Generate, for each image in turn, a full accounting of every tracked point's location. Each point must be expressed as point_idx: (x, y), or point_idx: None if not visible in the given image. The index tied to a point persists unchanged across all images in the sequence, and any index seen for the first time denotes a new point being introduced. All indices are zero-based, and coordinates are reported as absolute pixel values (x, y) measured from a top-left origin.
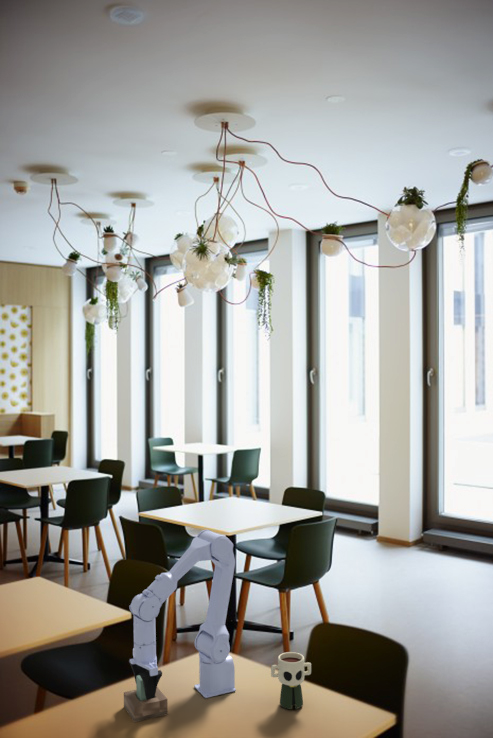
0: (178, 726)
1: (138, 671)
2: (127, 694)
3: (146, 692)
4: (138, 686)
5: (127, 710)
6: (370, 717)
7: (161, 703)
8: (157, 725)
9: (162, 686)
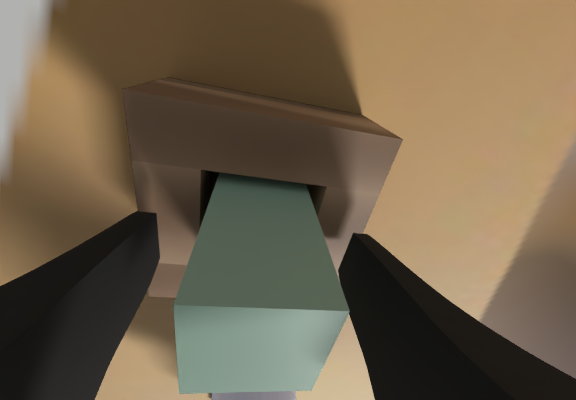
0: (41, 232)
1: (410, 350)
2: (353, 145)
3: (84, 246)
4: (266, 238)
5: (301, 104)
6: None
7: None
8: (82, 164)
9: None
